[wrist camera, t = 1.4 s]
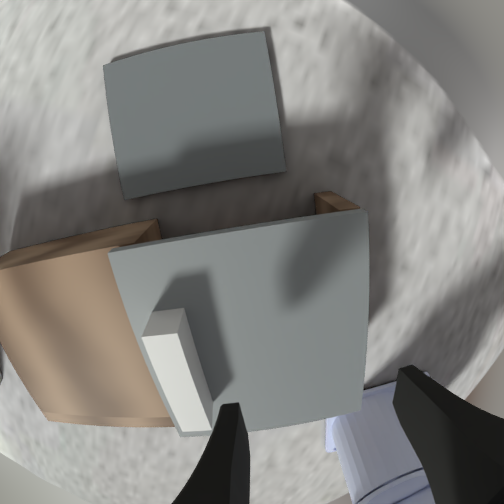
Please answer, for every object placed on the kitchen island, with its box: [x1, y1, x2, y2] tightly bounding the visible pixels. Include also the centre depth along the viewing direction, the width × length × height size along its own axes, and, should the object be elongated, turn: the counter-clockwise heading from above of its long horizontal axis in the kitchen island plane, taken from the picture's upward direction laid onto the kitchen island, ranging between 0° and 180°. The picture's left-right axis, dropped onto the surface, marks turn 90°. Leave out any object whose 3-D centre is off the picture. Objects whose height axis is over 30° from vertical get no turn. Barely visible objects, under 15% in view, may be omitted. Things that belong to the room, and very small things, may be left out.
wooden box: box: [0, 191, 360, 427], centre depth 17 cm, size 22×12×4 cm, turn 98°
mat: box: [103, 31, 286, 200], centre depth 15 cm, size 9×8×1 cm
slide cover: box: [108, 208, 369, 437], centre depth 14 cm, size 11×12×3 cm
